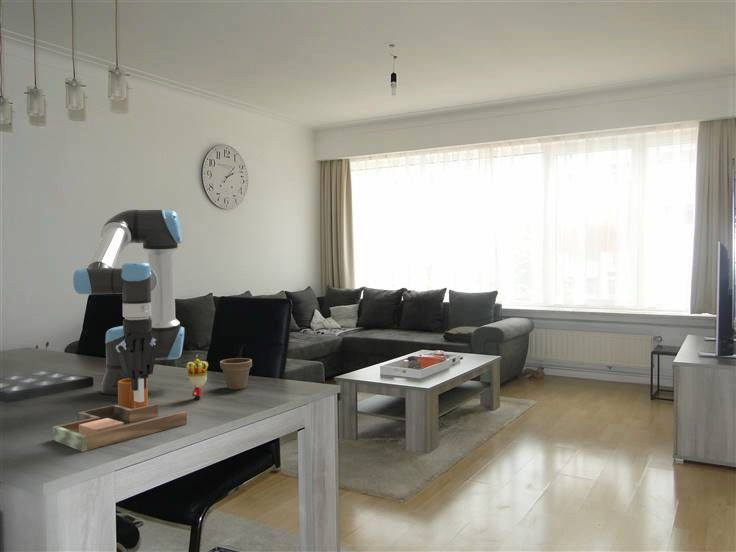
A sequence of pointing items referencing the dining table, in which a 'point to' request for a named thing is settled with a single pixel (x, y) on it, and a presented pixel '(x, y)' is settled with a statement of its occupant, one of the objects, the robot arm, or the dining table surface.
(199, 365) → the toy
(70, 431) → the wooden tray frame
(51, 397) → the dining table surface
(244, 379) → the flower pot
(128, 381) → the mug
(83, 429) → the block
